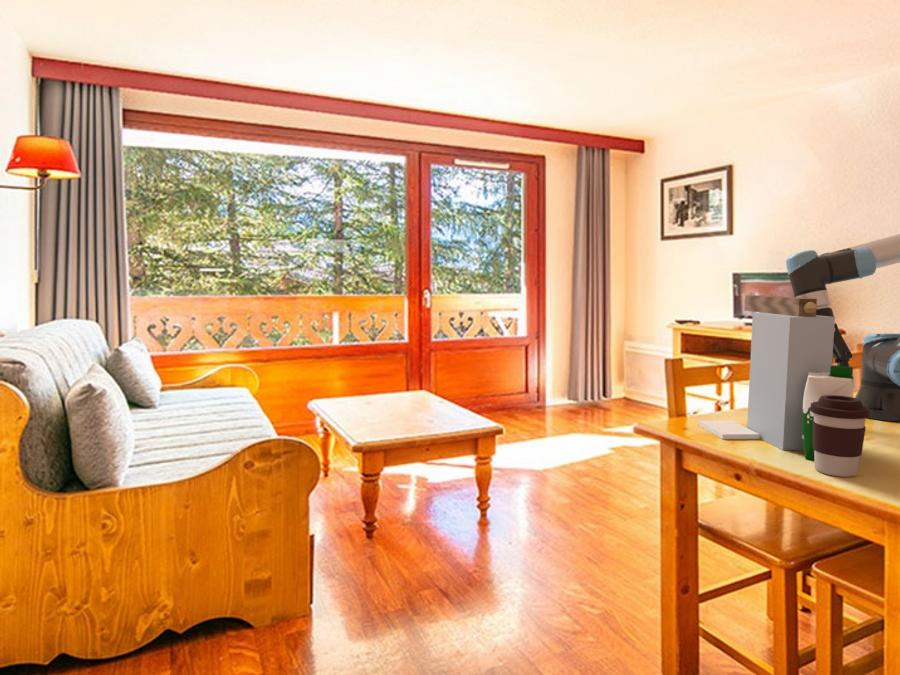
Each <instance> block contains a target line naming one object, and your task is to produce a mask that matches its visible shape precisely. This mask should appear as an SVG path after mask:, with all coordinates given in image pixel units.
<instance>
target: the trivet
mask: <svg viewBox="0 0 900 675" xmlns="http://www.w3.org/2000/svg"><path fill="white" fill-rule="evenodd" d="M698 425H699V426H698ZM697 426H698V427H700V426H701V427H700V428H702V429H703V430H705V431H707V432H709V433H711V434H712V435H714V436H715V437H718V438H719V439H721V440H761V439H760V434H758V433H756V432H754V431H752V430H750V429H748V428H747V426H744V425H742V424H739V423H738V422H736V421H734V420H731V419H730V420H728V419H727V420H697Z"/></svg>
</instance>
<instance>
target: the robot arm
mask: <svg viewBox="0 0 900 675" xmlns="http://www.w3.org/2000/svg"><path fill="white" fill-rule="evenodd" d="M895 264H900V233H898V234H895V235H892V236H891V235H890V236H888V237H884V238H881V239H880V238H879V239H876V240H872V241H869V242H864V243H862V244H857V245H854V246H850V247H847V248H843V249H839V250H836V251H832V252H824V253H822V254H820V255H818V252H817V251H816V250H814V249H813V250H803V251H800V252H796V253H794V254H791V255H788V257H787V258H786V260H785V265H786V270H787V276H788V278H789V281H790V285H791V288H792V292H793V297H798V298H814V299H817V310H816V315H819V316H829V317H835V314H834V311H833V309H832V308H831V307H830V306H831V305H832V303H831V299H830V296H829V292H828V289H827V286H826V285H832V284H837V283H841V282H846V281H852V280H855V279H856V280H857V279H863V278H865V277H870V276H873V275H874V274H875V273H876V271H877V269H880V268H884V267H888V266H891V265H895ZM862 343H863V344H862V345H861V347H862V355H861V369H860V370H861V372H860V386H859V389H858V390H857V392H856V395H855V396H854V398H857V399H859V400H861V402H862V405H863V406H865V407H867V408H869V409H870V416H869V417H868V418H867V419H871V420H872V419H873V420H879V421H887V422H900V333H870V334H869V333H868V334H866V335H865V336H864V337H863V342H862ZM849 348H850V347H848V345H847V343H846V341H845V340H844V338H843V336H842V333H841V332H840V330H839V327H838V324H837V323H836V322H835V324H834V340H833V356H832V358H833V359H834V362H833V363H834V364H835V365H841V366H850V363H849V362H850V359H852V358H853V354H852V352H851V350H850V349H849ZM853 389H856V384H855V381H854V379H853Z"/></svg>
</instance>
